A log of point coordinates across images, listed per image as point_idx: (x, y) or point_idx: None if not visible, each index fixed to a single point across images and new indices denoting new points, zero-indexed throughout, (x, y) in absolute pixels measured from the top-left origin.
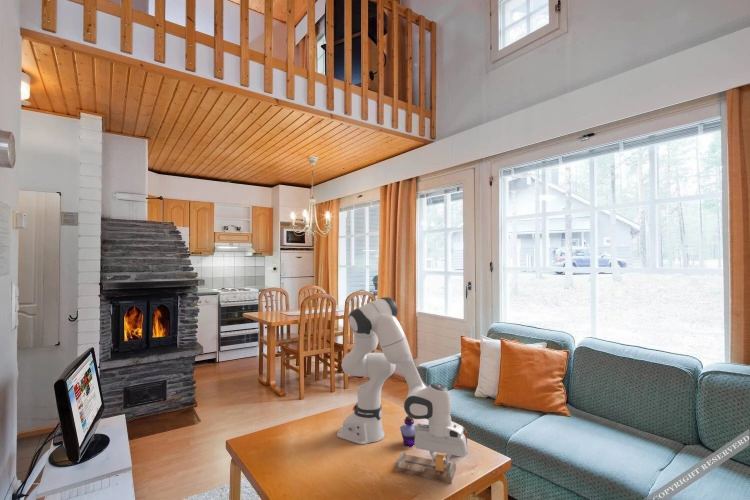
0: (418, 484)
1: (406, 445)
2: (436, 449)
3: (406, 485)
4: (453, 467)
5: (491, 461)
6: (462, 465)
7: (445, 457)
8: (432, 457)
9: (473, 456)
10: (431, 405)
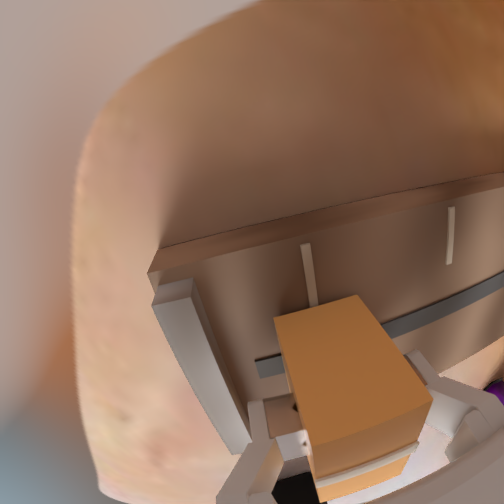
0: (412, 75)
1: (495, 383)
2: (461, 501)
3: (462, 39)
4: (207, 407)
5: (126, 486)
6: (211, 445)
7: (307, 457)
8: (443, 381)
9: (206, 490)
10: None
